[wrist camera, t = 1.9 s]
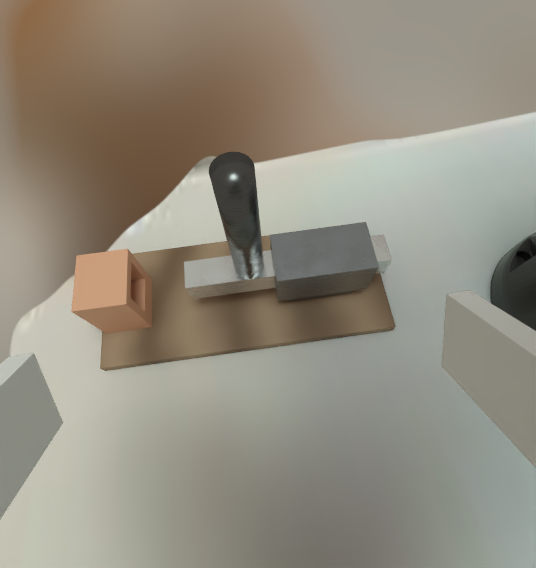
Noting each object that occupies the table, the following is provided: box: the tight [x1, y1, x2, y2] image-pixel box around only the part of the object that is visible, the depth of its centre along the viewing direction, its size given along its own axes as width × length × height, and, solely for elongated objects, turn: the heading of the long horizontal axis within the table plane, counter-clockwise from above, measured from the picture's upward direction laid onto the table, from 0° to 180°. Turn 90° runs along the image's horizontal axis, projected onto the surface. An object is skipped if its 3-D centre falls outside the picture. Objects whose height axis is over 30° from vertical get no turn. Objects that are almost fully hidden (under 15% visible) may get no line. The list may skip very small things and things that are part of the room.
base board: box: [100, 235, 396, 371], centre depth 34 cm, size 26×11×1 cm, turn 98°
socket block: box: [71, 249, 152, 333], centre depth 30 cm, size 4×5×6 cm
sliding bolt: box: [184, 152, 392, 299], centre depth 25 cm, size 17×2×14 cm, turn 98°
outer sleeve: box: [270, 222, 379, 302], centre depth 31 cm, size 8×4×6 cm, turn 98°
